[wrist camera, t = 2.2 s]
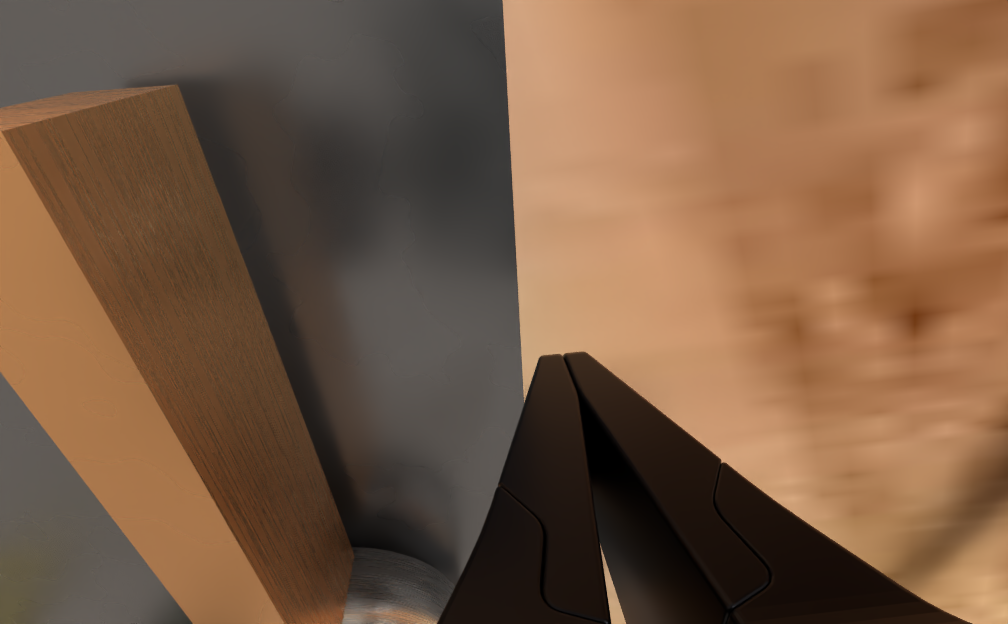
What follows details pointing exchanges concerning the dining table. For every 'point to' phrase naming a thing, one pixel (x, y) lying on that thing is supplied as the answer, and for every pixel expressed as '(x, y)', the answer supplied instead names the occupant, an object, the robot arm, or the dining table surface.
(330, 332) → the chuck base plate
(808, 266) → the dining table surface
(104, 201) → the wooden bar
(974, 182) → the dining table surface
